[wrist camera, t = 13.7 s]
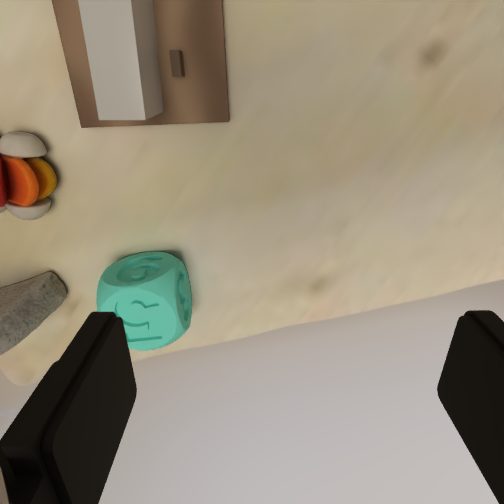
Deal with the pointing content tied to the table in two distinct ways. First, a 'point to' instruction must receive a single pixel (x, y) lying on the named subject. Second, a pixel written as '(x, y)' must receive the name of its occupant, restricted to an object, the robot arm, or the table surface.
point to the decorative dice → (148, 298)
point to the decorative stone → (27, 307)
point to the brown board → (161, 63)
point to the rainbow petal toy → (24, 176)
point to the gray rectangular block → (123, 58)
